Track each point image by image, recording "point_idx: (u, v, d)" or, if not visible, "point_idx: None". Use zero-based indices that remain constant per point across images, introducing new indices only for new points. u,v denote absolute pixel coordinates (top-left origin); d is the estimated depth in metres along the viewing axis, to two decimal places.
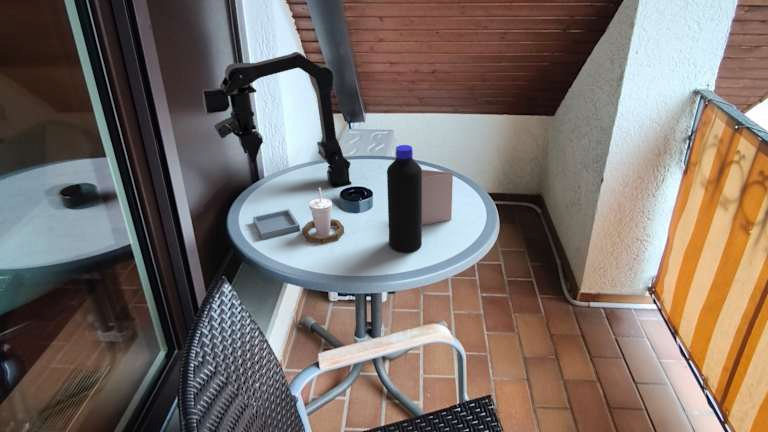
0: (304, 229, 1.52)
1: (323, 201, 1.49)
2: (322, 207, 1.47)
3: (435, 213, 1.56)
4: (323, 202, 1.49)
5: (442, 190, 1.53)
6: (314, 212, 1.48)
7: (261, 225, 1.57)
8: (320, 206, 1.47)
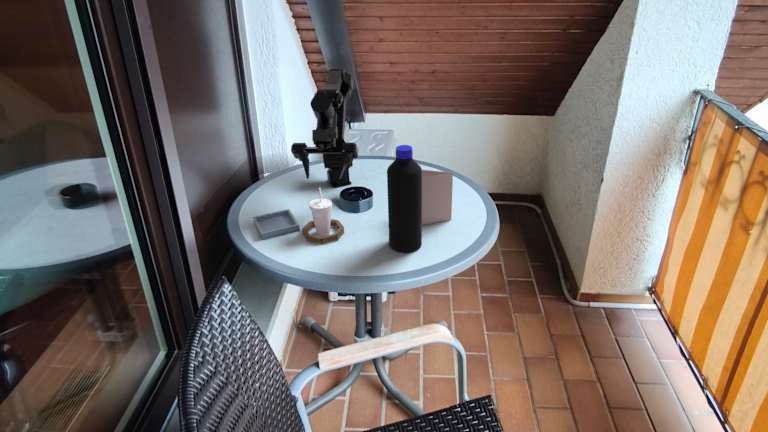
0: (304, 229, 1.52)
1: (323, 201, 1.49)
2: (322, 207, 1.47)
3: (435, 213, 1.56)
4: (323, 202, 1.49)
5: (442, 190, 1.53)
6: (314, 212, 1.48)
7: (261, 225, 1.57)
8: (320, 206, 1.47)
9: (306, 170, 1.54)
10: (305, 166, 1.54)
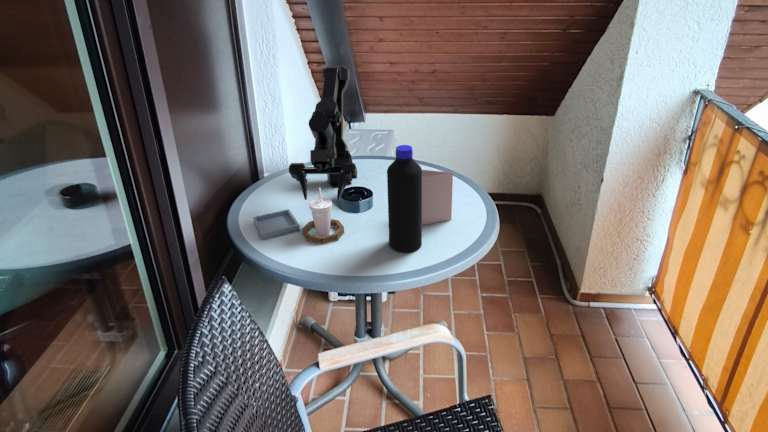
0: (304, 229, 1.52)
1: (323, 201, 1.49)
2: (322, 207, 1.47)
3: (435, 213, 1.56)
4: (323, 202, 1.49)
5: (442, 190, 1.53)
6: (314, 212, 1.48)
7: (261, 225, 1.57)
8: (320, 206, 1.47)
9: (304, 191, 1.51)
10: (303, 187, 1.51)
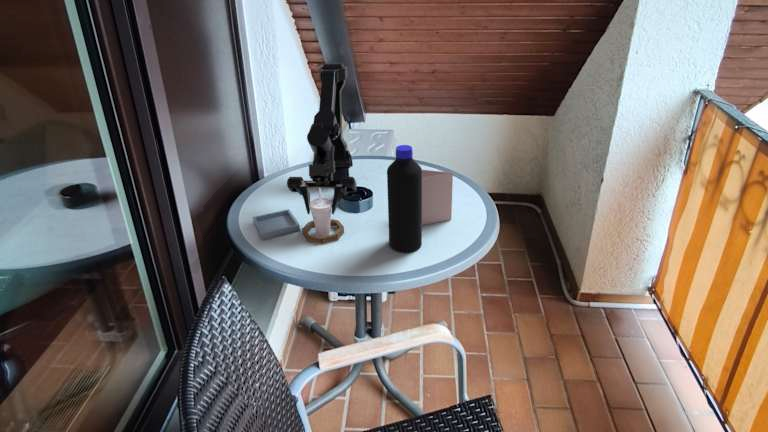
0: (304, 229, 1.52)
1: (323, 201, 1.49)
2: (322, 207, 1.47)
3: (435, 213, 1.56)
4: (323, 202, 1.49)
5: (442, 190, 1.53)
6: (314, 212, 1.48)
7: (261, 225, 1.57)
8: (320, 206, 1.47)
9: (307, 205, 1.49)
10: (306, 201, 1.49)
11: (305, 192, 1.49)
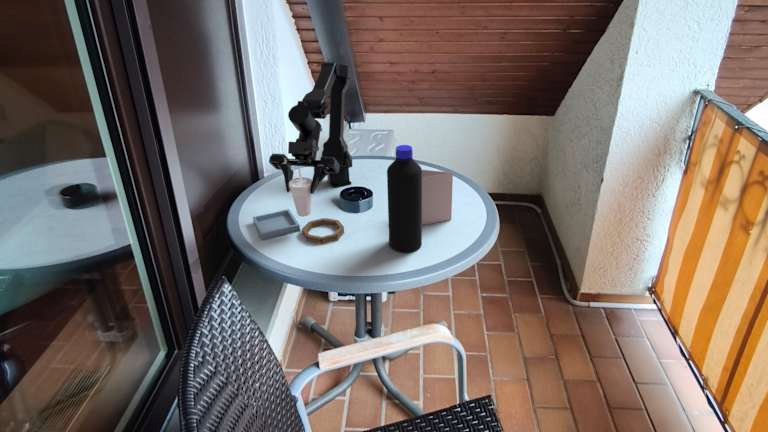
0: (304, 229, 1.52)
1: (303, 180, 1.47)
2: (300, 186, 1.45)
3: (435, 213, 1.56)
4: (303, 181, 1.47)
5: (442, 190, 1.53)
6: (292, 191, 1.46)
7: (261, 225, 1.57)
8: (298, 185, 1.45)
9: (287, 183, 1.47)
10: (286, 179, 1.47)
11: (286, 170, 1.47)
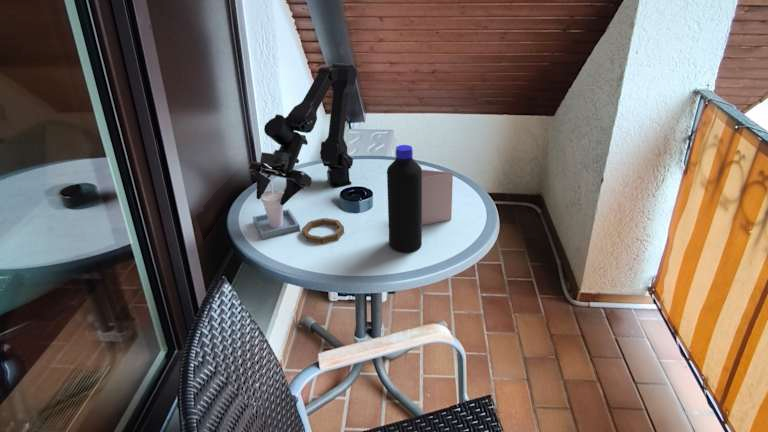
0: (304, 229, 1.52)
1: (275, 194, 1.53)
2: (269, 199, 1.51)
3: (435, 213, 1.56)
4: (274, 195, 1.52)
5: (442, 190, 1.53)
6: (263, 203, 1.52)
7: (261, 225, 1.57)
8: (268, 198, 1.51)
9: (258, 191, 1.54)
10: (258, 186, 1.54)
11: (259, 178, 1.54)
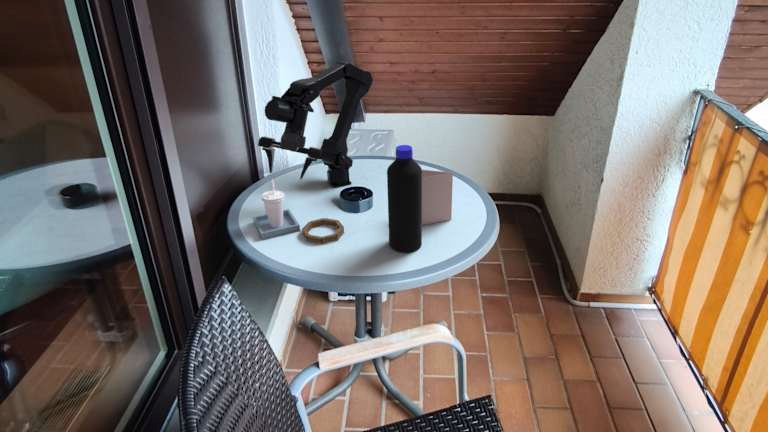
0: (304, 229, 1.52)
1: (276, 193, 1.53)
2: (269, 199, 1.51)
3: (435, 213, 1.56)
4: (275, 194, 1.53)
5: (442, 190, 1.53)
6: (264, 202, 1.53)
7: (261, 225, 1.57)
8: (269, 197, 1.51)
9: (270, 166, 1.61)
10: (270, 162, 1.61)
11: (270, 154, 1.60)
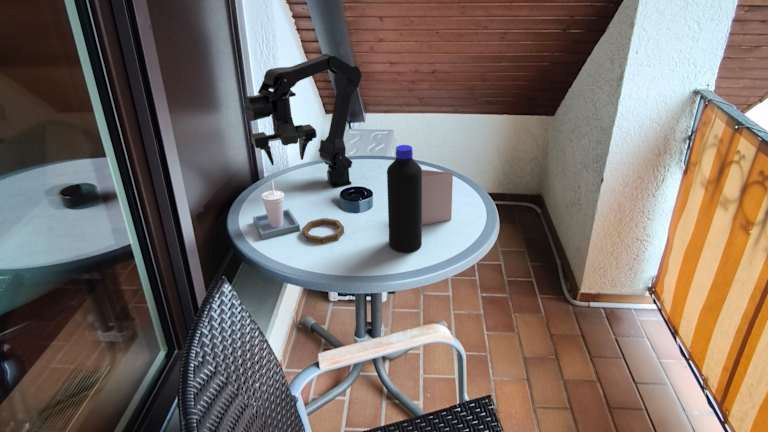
0: (304, 229, 1.52)
1: (276, 193, 1.53)
2: (269, 199, 1.51)
3: (435, 213, 1.56)
4: (275, 194, 1.53)
5: (442, 190, 1.53)
6: None
7: (261, 225, 1.57)
8: (269, 197, 1.51)
9: (271, 159, 1.63)
10: (270, 156, 1.62)
11: (269, 150, 1.61)
